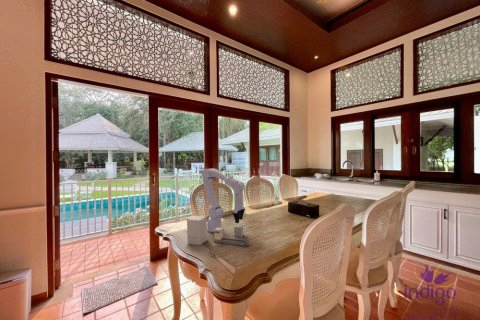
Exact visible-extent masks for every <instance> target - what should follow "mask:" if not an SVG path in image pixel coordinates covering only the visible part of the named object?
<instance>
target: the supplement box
mask: <svg viewBox="0 0 480 320" xmlns="http://www.w3.org/2000/svg"><path fill="white" fill-rule="evenodd" d="M207 222H208V219H207V216H204V215H193V216H190V217H188V218H187V219H186V229H187V230H186V232H187V233H186V235H187V245H193V246H194V245H195V246H202V244H204V243H206V241H207V240H208V231H207V230H208V225H207Z"/></svg>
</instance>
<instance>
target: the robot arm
mask: <svg viewBox="0 0 480 320" xmlns="http://www.w3.org/2000/svg"><path fill="white" fill-rule="evenodd" d="M201 177H202V184H203V187H204V190H205V191H204V192H205V193H206V196H207V201H208V204H209V207H208V216H209V217H208V219H207V233H208V232H210V233H214V229H215V228H217V227H219V228H223V230H224V229H225V228H224V227H222V225H223V224H222V217H223V215H224V208H222V206H221V204H219V202H218V201H217V197H216V193H215V190H214V188H213V184H212V181H213V180H214V179H215V178H218V179H219V180H221V181H223V182H224V184H225V186H228V187H229V188H232V190H233V193H234V194H233V196H234V197H233V199H234V207H233V211H232V212H231V215H232V216H233V218H234V221H235V224H239V223H240V221H241V220H243V219H244V213H245V211H246V208H245V206H244V190H245V187H246V186H245V184H244V182H242V181H238V180H236V179H235V178H233V176H227V175H225V174H223V173H222V172H220V171H219V170H218V169H217V168H214V167H212V168H204V169H203V170H202V172H201Z"/></svg>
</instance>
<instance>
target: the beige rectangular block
mask: <svg viewBox="0 0 480 320" xmlns="http://www.w3.org/2000/svg"><path fill="white" fill-rule="evenodd" d="M223 228H224V227H222V228H219V227H217V228H215V229H214V232H213V234H214V237H213V240H214V239H217V240H221V239H222V238H224V229H223Z"/></svg>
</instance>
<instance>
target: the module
mask: <svg viewBox="0 0 480 320" xmlns="http://www.w3.org/2000/svg"><path fill="white" fill-rule="evenodd" d="M233 236H234V237H239V238H242V237H243V236H244V225H241V224H240V225H239V224H238V225H237V224H236V225H234V226H233Z"/></svg>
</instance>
